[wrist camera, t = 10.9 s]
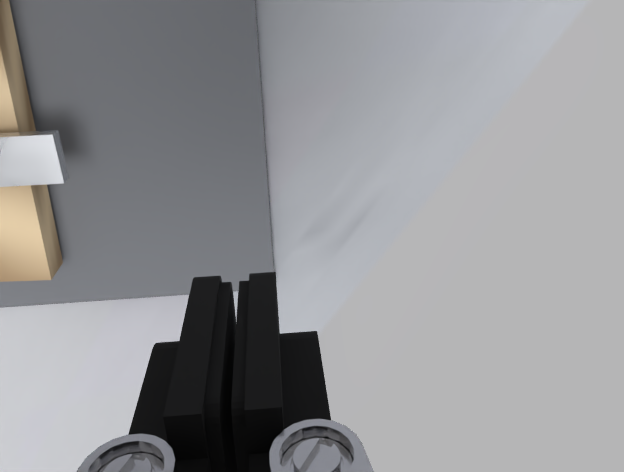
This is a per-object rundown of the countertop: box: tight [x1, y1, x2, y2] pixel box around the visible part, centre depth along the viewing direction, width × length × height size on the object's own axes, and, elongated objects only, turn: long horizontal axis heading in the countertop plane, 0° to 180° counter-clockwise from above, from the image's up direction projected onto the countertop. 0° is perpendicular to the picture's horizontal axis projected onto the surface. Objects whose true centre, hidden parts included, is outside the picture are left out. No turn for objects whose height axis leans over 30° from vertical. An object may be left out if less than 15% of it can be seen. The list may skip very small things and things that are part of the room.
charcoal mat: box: [0, 0, 274, 307], centre depth 30 cm, size 20×18×1 cm
